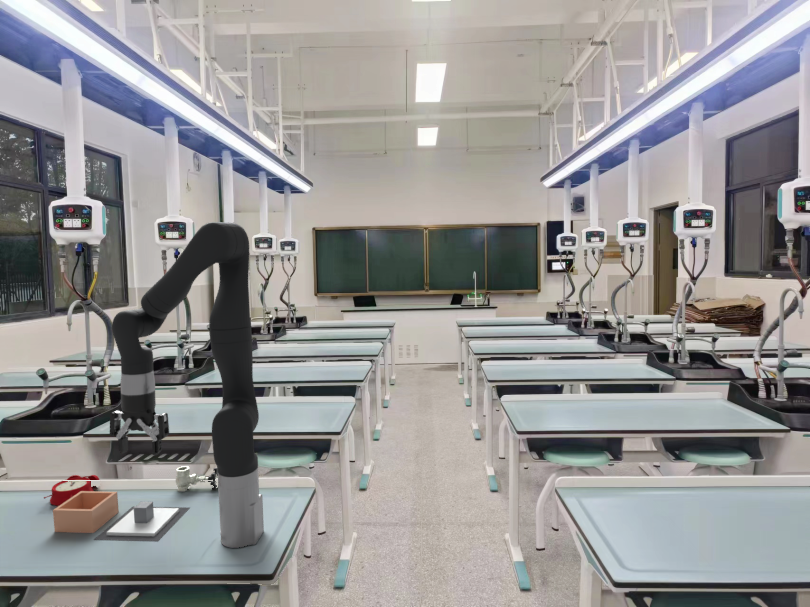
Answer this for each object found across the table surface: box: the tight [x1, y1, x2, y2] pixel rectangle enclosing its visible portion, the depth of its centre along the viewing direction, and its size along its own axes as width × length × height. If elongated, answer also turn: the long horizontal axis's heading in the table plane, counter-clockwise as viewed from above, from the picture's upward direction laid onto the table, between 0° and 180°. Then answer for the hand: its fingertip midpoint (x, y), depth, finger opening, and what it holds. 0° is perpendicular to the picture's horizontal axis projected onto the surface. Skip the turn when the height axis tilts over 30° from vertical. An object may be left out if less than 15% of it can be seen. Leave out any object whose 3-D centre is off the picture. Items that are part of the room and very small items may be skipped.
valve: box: [175, 465, 218, 492], centre depth 148 cm, size 7×7×12 cm
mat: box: [93, 505, 191, 542], centre depth 130 cm, size 16×16×1 cm
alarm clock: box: [43, 474, 101, 507], centre depth 146 cm, size 10×6×15 cm
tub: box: [52, 491, 120, 534], centre depth 131 cm, size 10×10×6 cm
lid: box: [107, 501, 179, 536], centre depth 130 cm, size 12×12×5 cm
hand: (140, 453), depth 128 cm, fingers open, 8 cm apart
